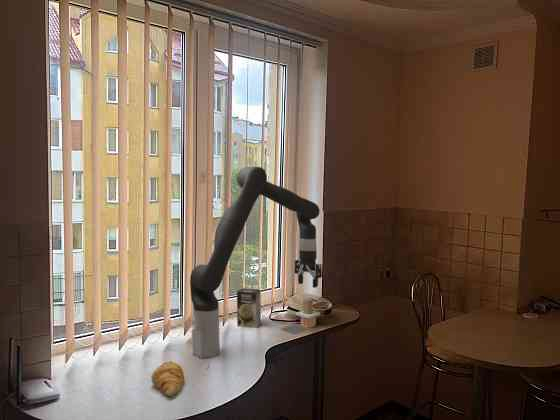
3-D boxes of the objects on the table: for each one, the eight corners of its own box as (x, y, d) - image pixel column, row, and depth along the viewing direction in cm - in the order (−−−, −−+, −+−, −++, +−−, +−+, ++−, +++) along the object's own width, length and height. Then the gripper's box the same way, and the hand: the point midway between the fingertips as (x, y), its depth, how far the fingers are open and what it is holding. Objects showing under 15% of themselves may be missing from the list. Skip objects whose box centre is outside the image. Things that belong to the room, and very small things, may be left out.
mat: (294, 335, 193) (294, 334, 193) (280, 330, 199) (280, 329, 199) (308, 330, 199) (308, 329, 199) (294, 325, 205) (294, 324, 205)
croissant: (181, 408, 143) (193, 384, 143) (150, 398, 140) (162, 374, 140) (174, 377, 163) (184, 356, 163) (147, 368, 160) (157, 347, 160)
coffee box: (236, 327, 204) (236, 291, 202) (242, 323, 210) (241, 287, 208) (256, 329, 201) (255, 292, 200) (261, 324, 207) (260, 289, 206)
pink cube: (308, 329, 200) (308, 318, 200) (297, 325, 205) (297, 314, 205) (318, 325, 205) (318, 314, 204) (307, 322, 209) (307, 311, 209)
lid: (308, 318, 199) (308, 303, 198) (295, 314, 205) (295, 299, 204) (320, 314, 204) (320, 299, 204) (307, 311, 210) (307, 296, 209)
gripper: (290, 247, 205) (290, 284, 206) (314, 251, 194) (314, 290, 195) (302, 245, 210) (302, 281, 211) (326, 249, 199) (326, 287, 201)
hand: (307, 285), depth 203 cm, fingers open, 8 cm apart
